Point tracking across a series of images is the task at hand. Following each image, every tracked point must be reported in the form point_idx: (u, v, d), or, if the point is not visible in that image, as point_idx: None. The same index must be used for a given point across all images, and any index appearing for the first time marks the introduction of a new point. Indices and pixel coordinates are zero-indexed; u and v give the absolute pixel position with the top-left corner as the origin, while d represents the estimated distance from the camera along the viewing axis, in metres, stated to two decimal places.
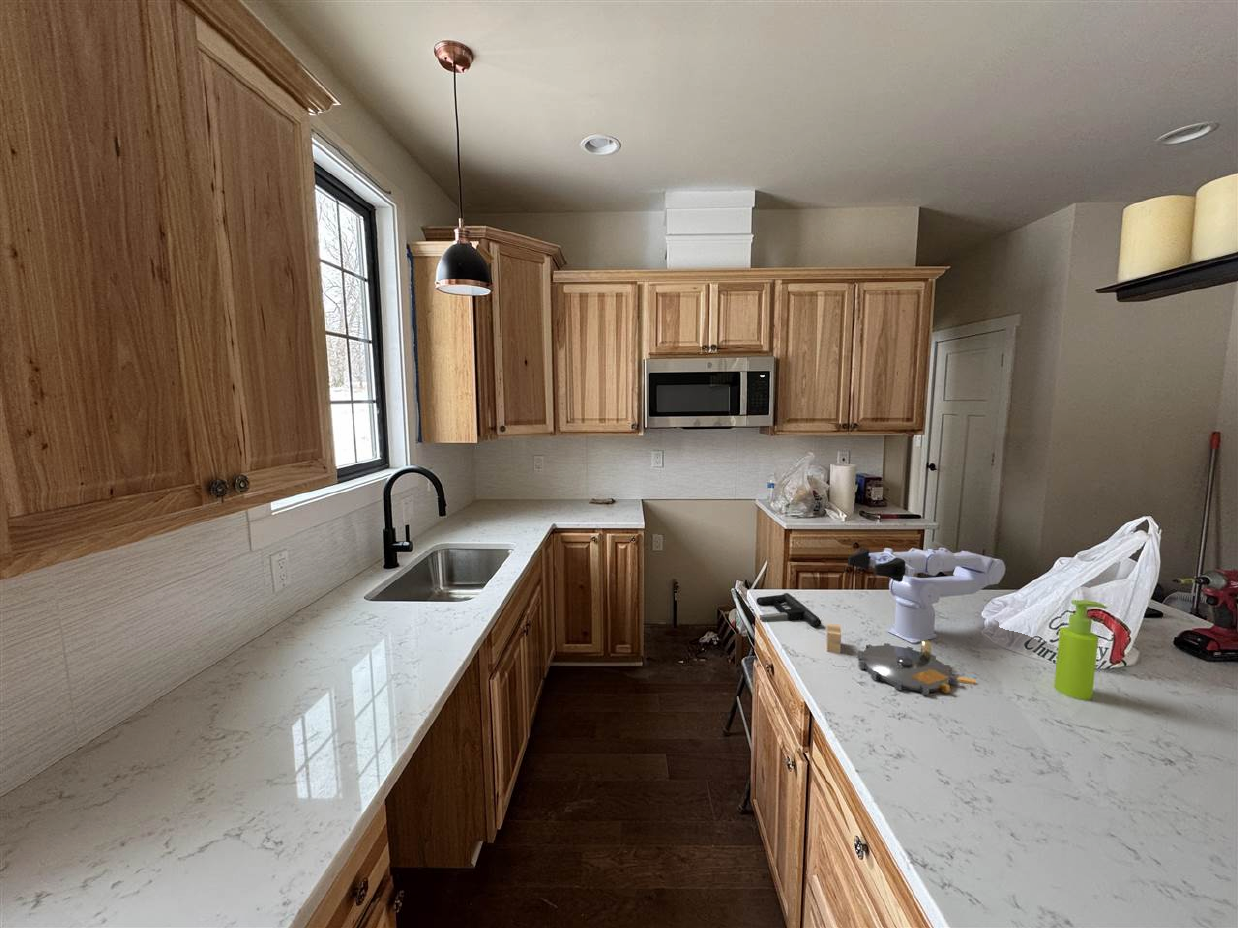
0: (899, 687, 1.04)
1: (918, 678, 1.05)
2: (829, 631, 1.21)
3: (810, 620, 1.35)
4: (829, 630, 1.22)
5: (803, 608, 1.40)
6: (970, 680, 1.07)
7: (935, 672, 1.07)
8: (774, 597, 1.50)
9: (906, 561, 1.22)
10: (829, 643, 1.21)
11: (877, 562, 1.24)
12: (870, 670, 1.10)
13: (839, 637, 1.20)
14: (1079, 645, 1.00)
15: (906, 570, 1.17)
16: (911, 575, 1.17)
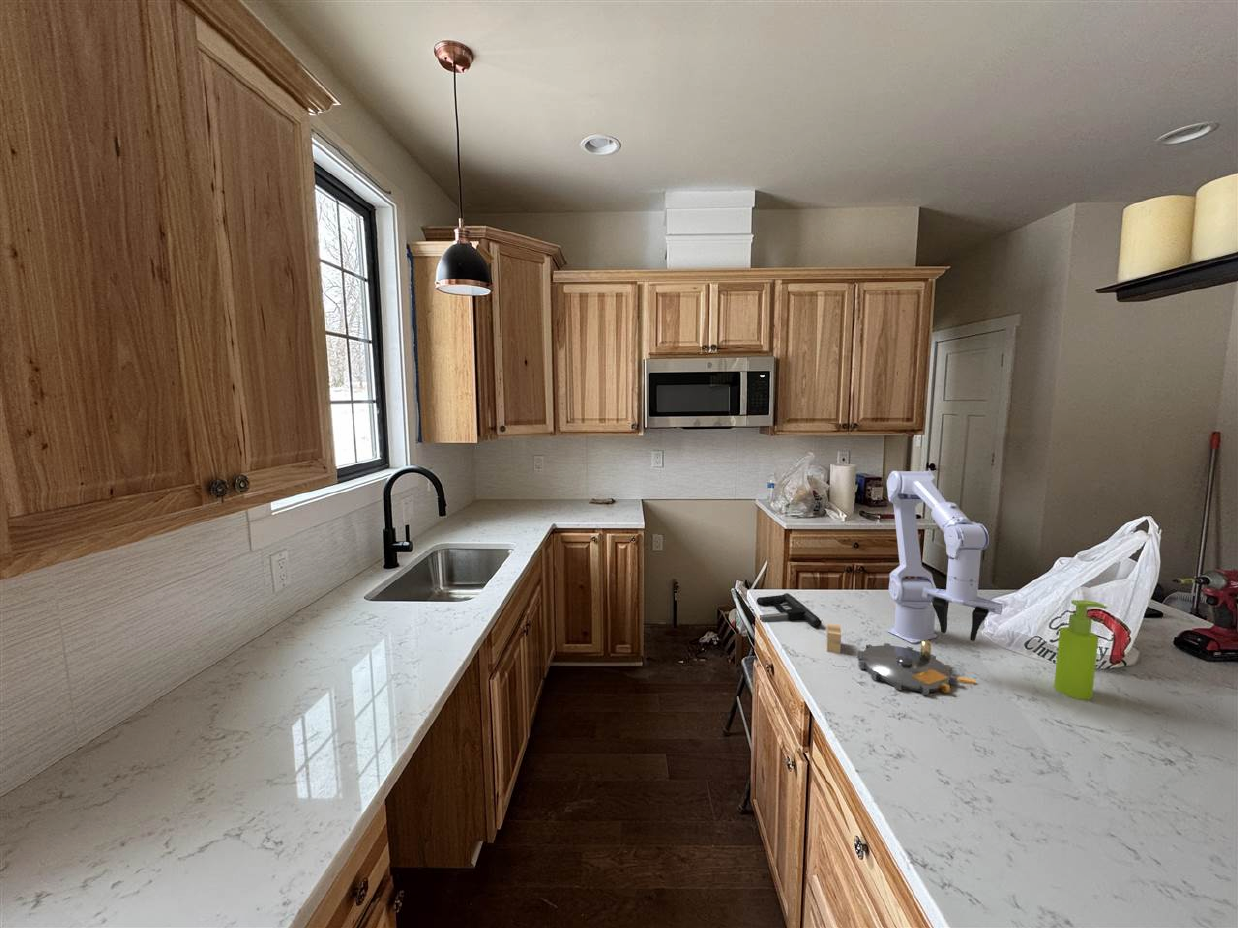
0: (899, 687, 1.04)
1: (918, 678, 1.05)
2: (829, 631, 1.21)
3: (810, 620, 1.35)
4: (829, 630, 1.22)
5: (803, 608, 1.40)
6: (970, 680, 1.07)
7: (935, 672, 1.07)
8: (774, 597, 1.50)
9: (975, 586, 1.05)
10: (828, 643, 1.21)
11: None
12: (870, 670, 1.10)
13: (839, 637, 1.20)
14: (1079, 645, 1.00)
15: None
16: None
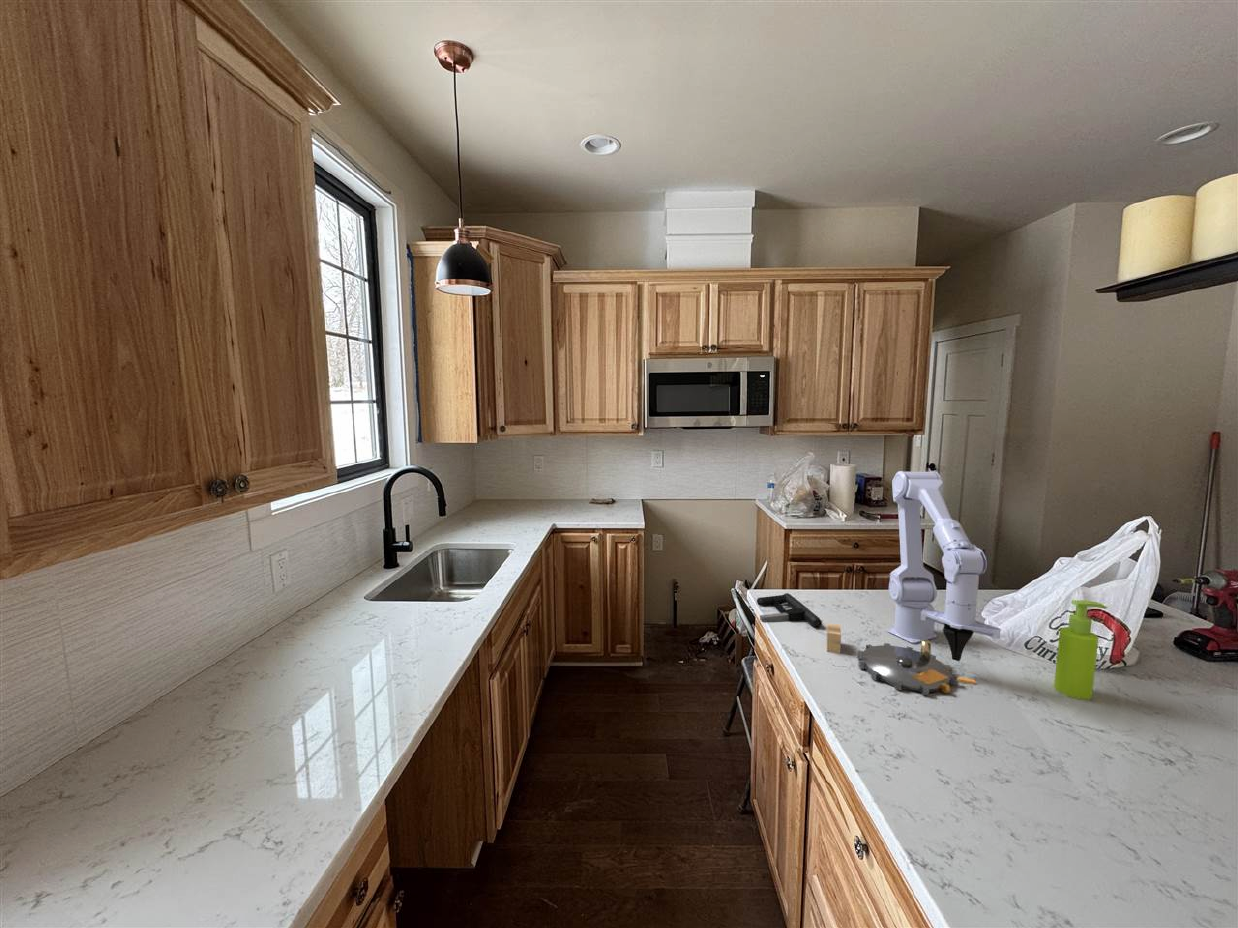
0: (899, 687, 1.04)
1: (918, 678, 1.05)
2: (829, 631, 1.21)
3: (811, 620, 1.34)
4: (829, 630, 1.22)
5: (804, 608, 1.40)
6: (970, 680, 1.07)
7: (935, 672, 1.07)
8: (775, 597, 1.50)
9: (973, 610, 1.06)
10: (829, 643, 1.21)
11: None
12: (870, 670, 1.10)
13: (839, 637, 1.20)
14: (1079, 645, 1.00)
15: None
16: None
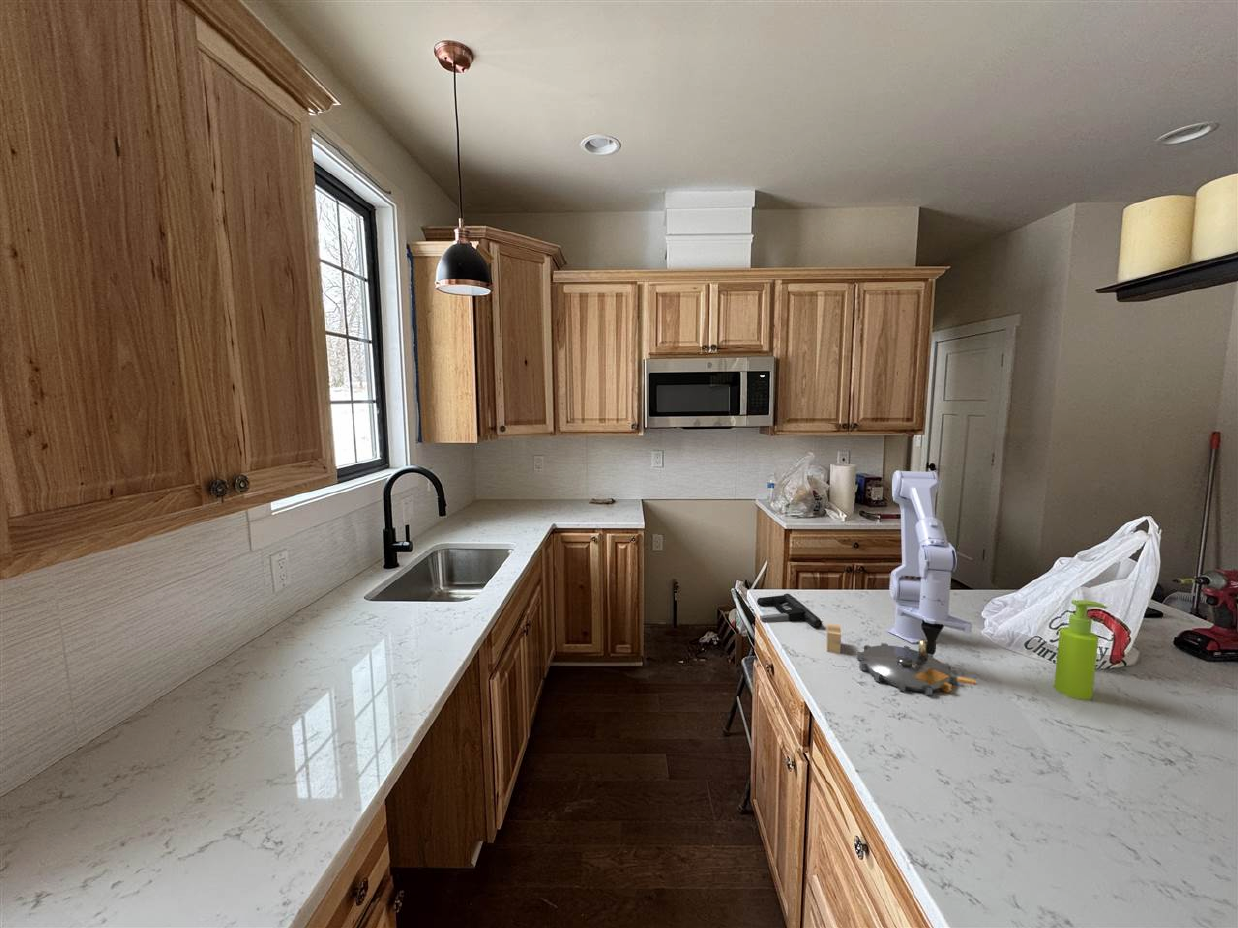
0: (903, 688, 1.03)
1: (920, 678, 1.05)
2: (829, 631, 1.21)
3: (811, 621, 1.34)
4: (829, 630, 1.22)
5: (804, 609, 1.40)
6: (970, 680, 1.07)
7: (936, 672, 1.08)
8: (775, 597, 1.50)
9: (946, 605, 1.10)
10: (828, 643, 1.21)
11: None
12: (872, 671, 1.09)
13: (839, 637, 1.20)
14: (1079, 645, 1.00)
15: None
16: (971, 627, 1.08)
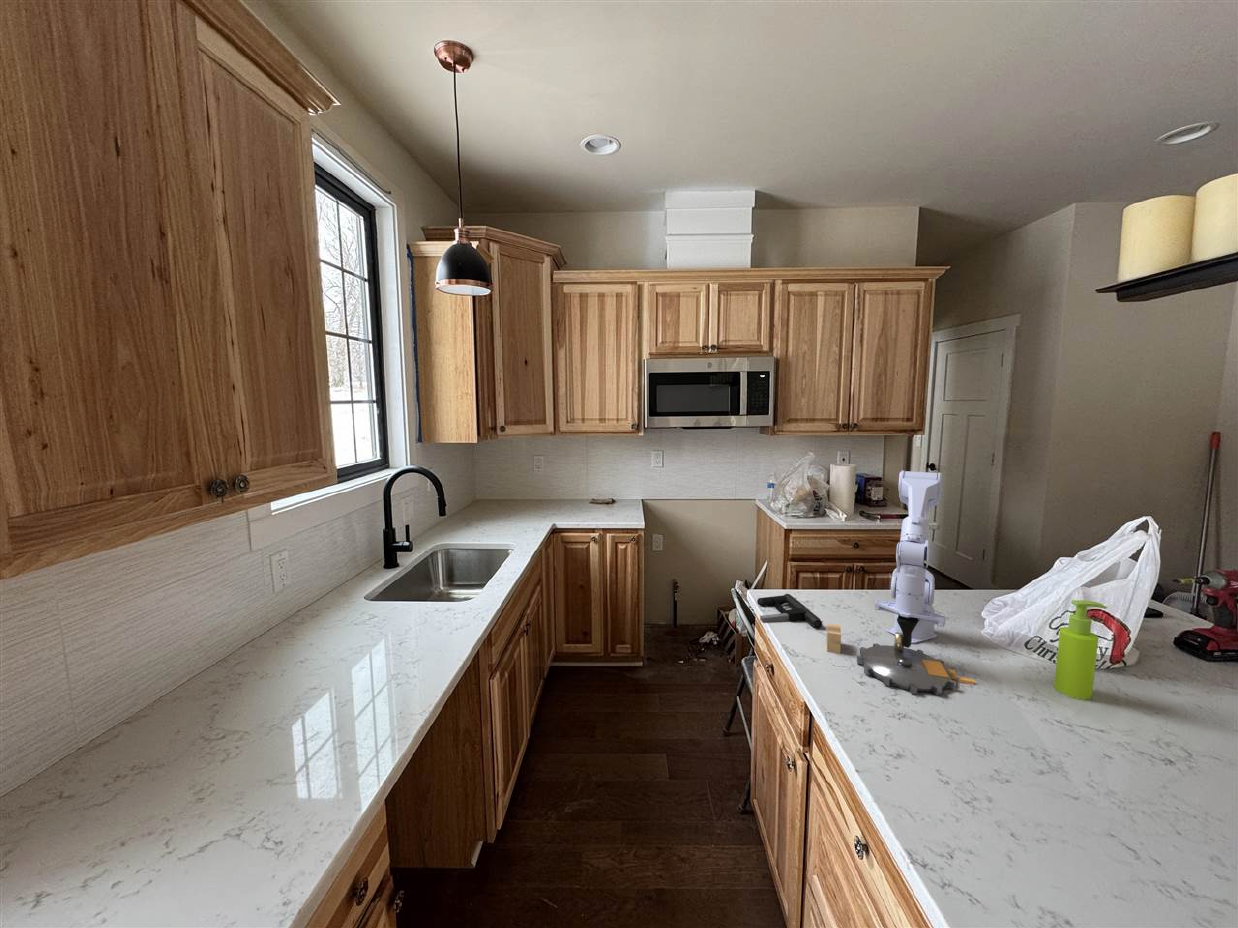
0: (940, 691, 1.02)
1: (935, 674, 1.07)
2: (829, 631, 1.21)
3: (811, 621, 1.34)
4: (829, 630, 1.22)
5: (804, 609, 1.40)
6: (970, 680, 1.07)
7: (929, 662, 1.12)
8: (775, 598, 1.50)
9: (920, 600, 1.13)
10: (828, 643, 1.21)
11: None
12: (902, 684, 1.04)
13: (839, 637, 1.20)
14: (1079, 645, 1.00)
15: None
16: None
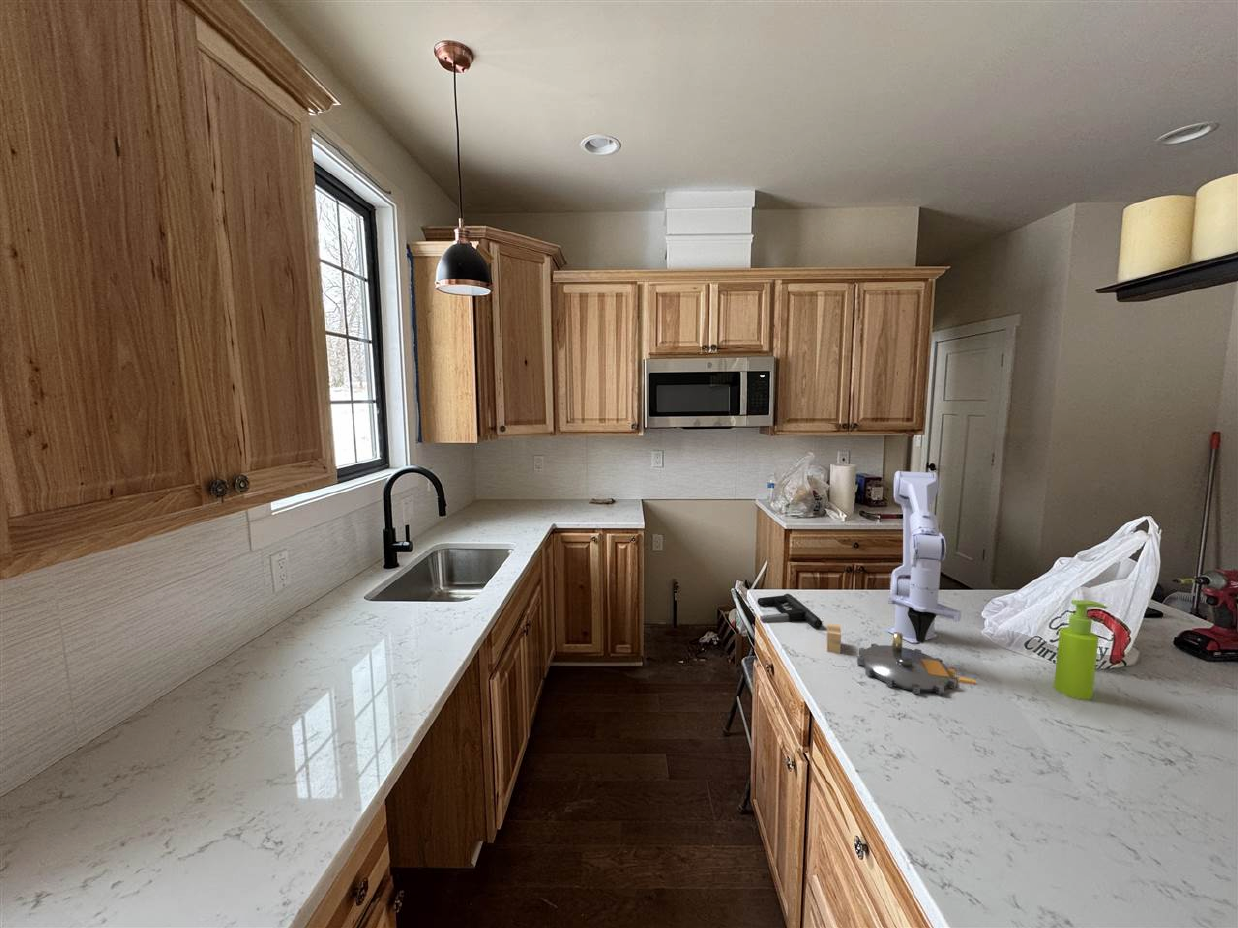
0: (942, 691, 1.02)
1: (936, 674, 1.07)
2: (829, 631, 1.21)
3: (811, 621, 1.34)
4: (829, 630, 1.22)
5: (804, 609, 1.40)
6: (970, 680, 1.07)
7: (928, 661, 1.12)
8: (775, 598, 1.50)
9: (935, 594, 1.11)
10: (828, 643, 1.21)
11: None
12: (904, 685, 1.04)
13: (839, 637, 1.20)
14: (1079, 645, 1.00)
15: None
16: (960, 615, 1.09)
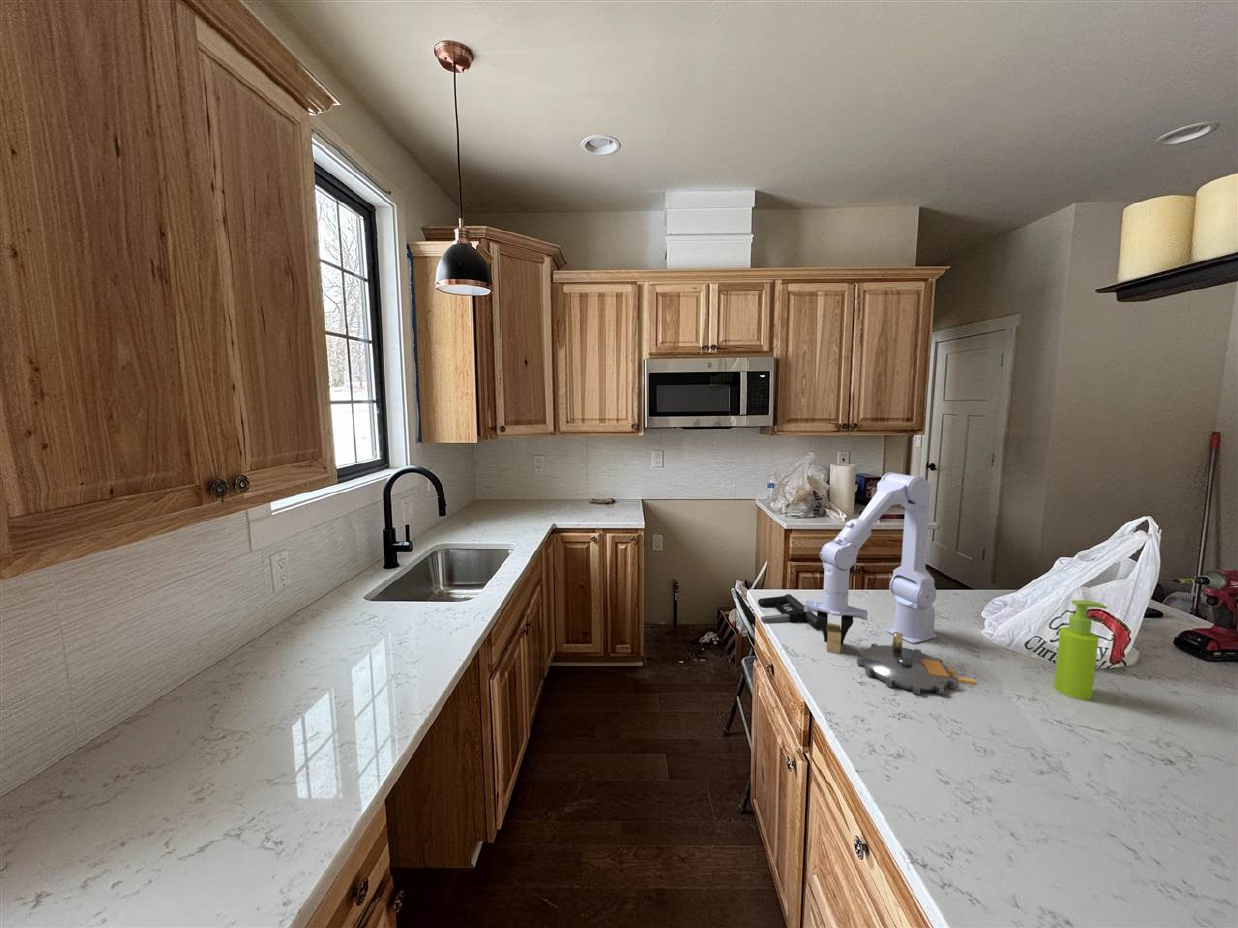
0: (942, 691, 1.02)
1: (936, 674, 1.07)
2: (829, 631, 1.21)
3: (812, 622, 1.34)
4: (829, 630, 1.22)
5: None
6: (970, 680, 1.07)
7: (928, 661, 1.12)
8: (776, 598, 1.49)
9: (847, 597, 1.20)
10: (828, 643, 1.21)
11: None
12: (904, 685, 1.04)
13: (839, 637, 1.19)
14: (1079, 645, 1.00)
15: None
16: None
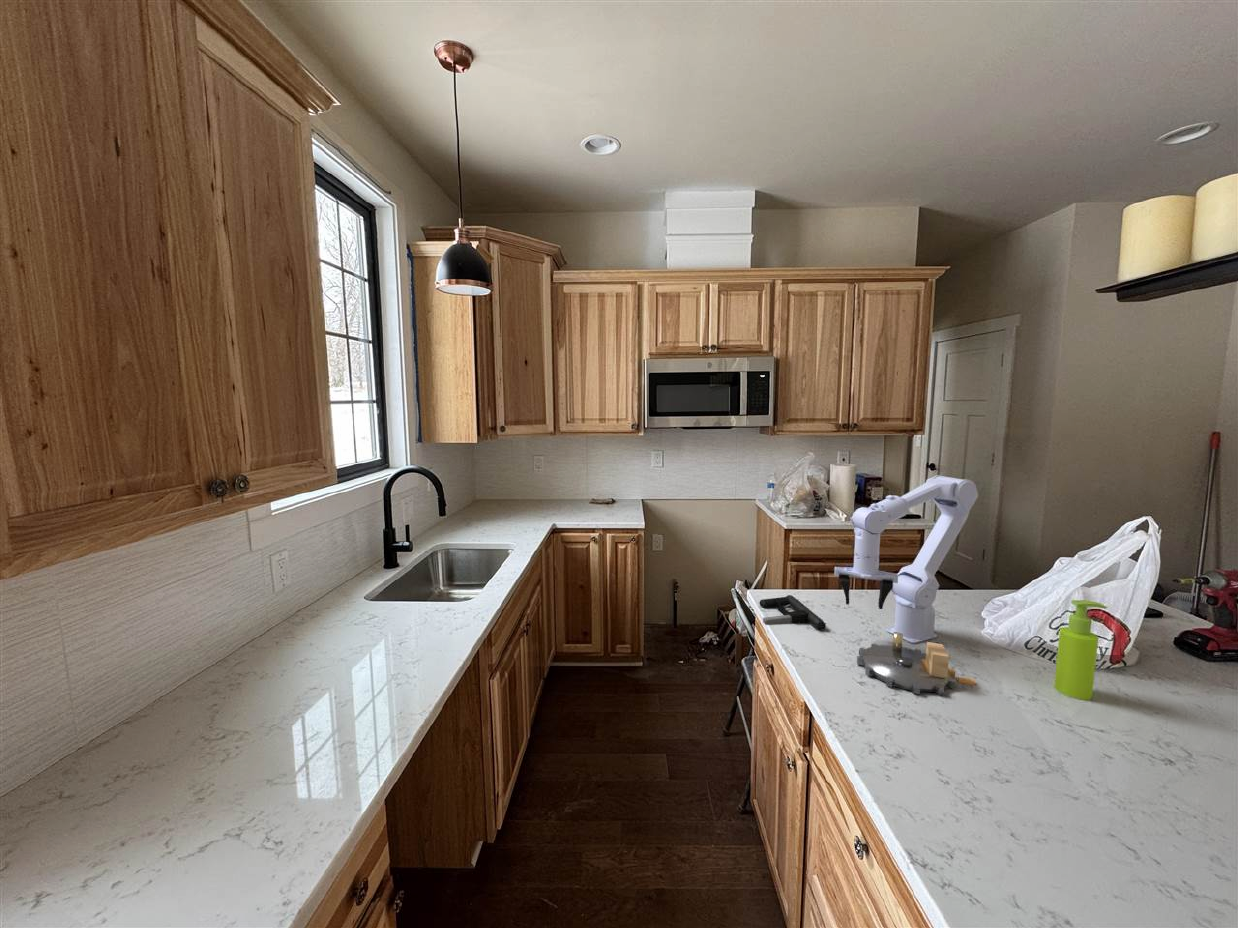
0: (942, 691, 1.02)
1: None
2: (933, 652, 1.06)
3: (814, 623, 1.33)
4: (933, 651, 1.07)
5: (807, 611, 1.39)
6: (970, 680, 1.07)
7: None
8: (777, 599, 1.49)
9: (878, 561, 1.23)
10: (933, 666, 1.06)
11: None
12: (904, 685, 1.04)
13: (946, 659, 1.05)
14: (1079, 645, 1.00)
15: None
16: None
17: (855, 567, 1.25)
